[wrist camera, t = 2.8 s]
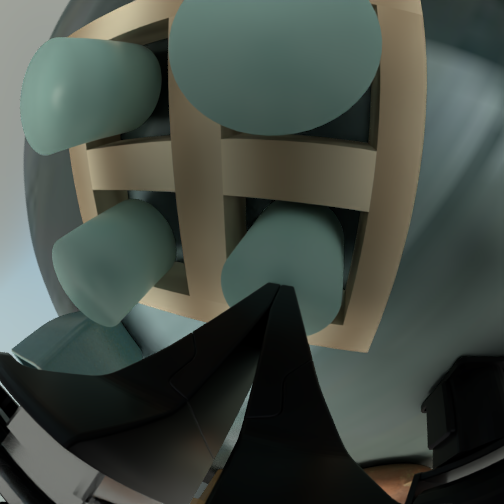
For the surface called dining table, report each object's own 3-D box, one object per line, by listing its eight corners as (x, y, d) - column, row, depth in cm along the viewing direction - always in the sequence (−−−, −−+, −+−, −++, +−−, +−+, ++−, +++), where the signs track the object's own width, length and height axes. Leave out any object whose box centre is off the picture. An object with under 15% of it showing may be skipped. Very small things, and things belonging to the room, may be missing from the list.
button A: (350, 202, 10) (353, 248, 7) (336, 283, 12) (329, 346, 9) (255, 191, 12) (216, 229, 8) (255, 270, 13) (224, 325, 10)
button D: (161, 32, 7) (81, 17, 4) (163, 127, 9) (82, 148, 6) (93, 58, 8) (20, 63, 5) (96, 137, 10) (25, 160, 7)
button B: (361, 17, 5) (371, -42, 2) (361, 132, 7) (379, 147, 4) (237, 17, 6) (172, -26, 3) (237, 123, 8) (170, 137, 5)
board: (403, 4, 6) (416, -19, 4) (366, 316, 13) (367, 352, 11) (99, 39, 10) (66, 37, 8) (127, 270, 17) (104, 291, 15)
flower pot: (114, 285, 18) (34, 366, 11) (170, 367, 22) (118, 446, 14) (68, 293, 22) (9, 349, 15) (114, 358, 25) (69, 416, 18)
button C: (170, 200, 11) (102, 246, 7) (182, 281, 13) (133, 339, 9) (105, 197, 12) (42, 233, 8) (121, 267, 14) (72, 311, 10)
